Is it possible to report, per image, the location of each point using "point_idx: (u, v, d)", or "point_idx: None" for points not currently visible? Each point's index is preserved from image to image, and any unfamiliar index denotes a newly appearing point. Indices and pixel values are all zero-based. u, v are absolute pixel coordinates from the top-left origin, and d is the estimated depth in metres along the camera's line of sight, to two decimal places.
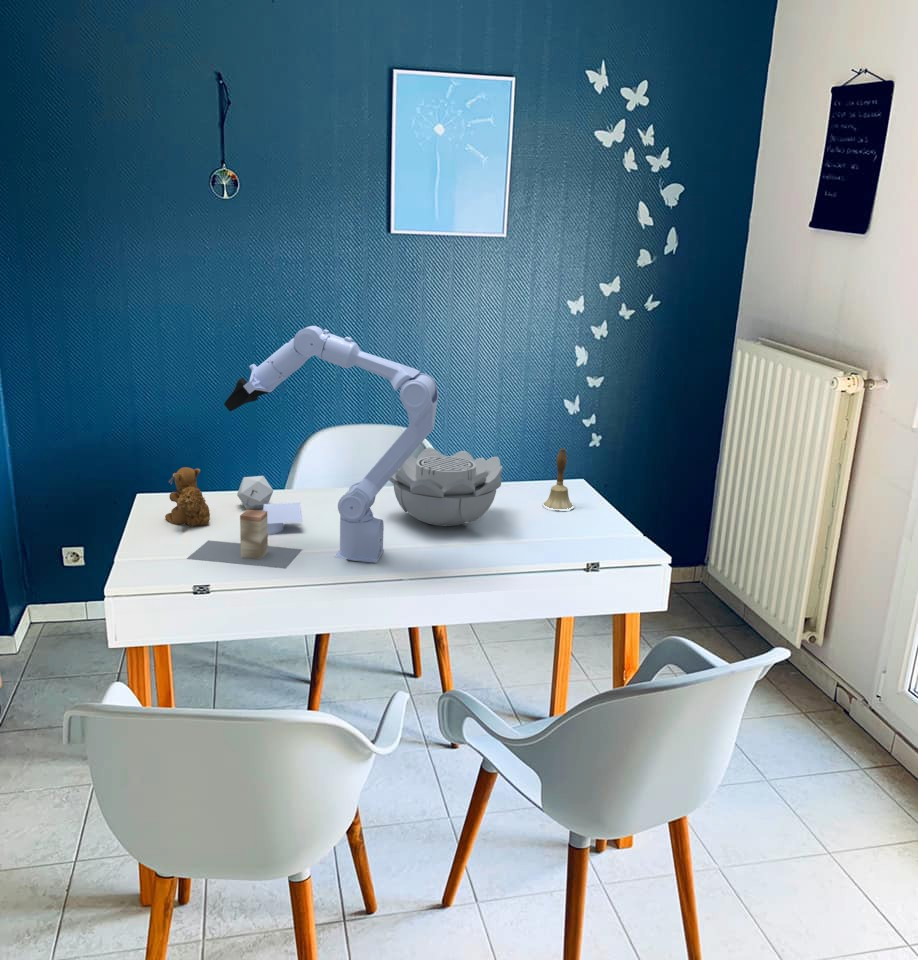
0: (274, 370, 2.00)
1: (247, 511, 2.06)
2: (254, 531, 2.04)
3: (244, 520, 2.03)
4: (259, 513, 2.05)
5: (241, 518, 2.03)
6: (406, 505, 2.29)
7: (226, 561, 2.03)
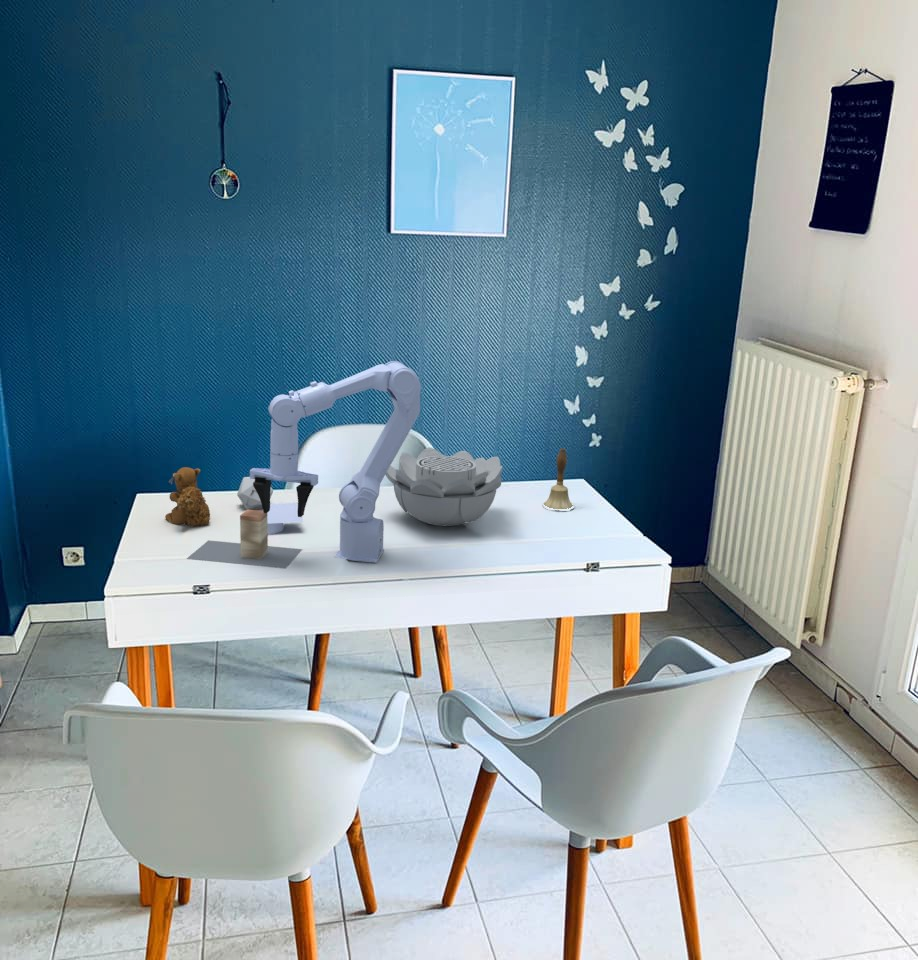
0: (297, 455, 2.00)
1: (247, 511, 2.06)
2: (254, 531, 2.04)
3: (244, 520, 2.03)
4: (259, 513, 2.05)
5: (241, 518, 2.03)
6: (406, 505, 2.29)
7: (226, 561, 2.03)
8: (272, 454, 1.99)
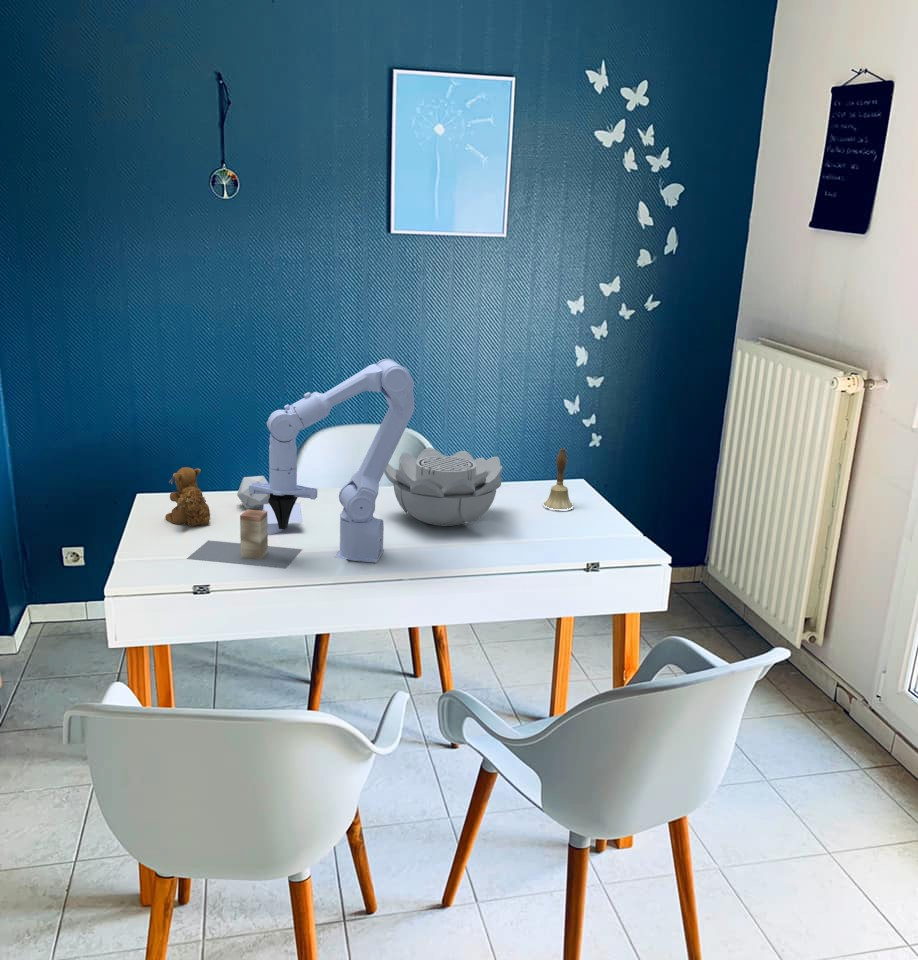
0: (296, 469, 2.01)
1: (247, 511, 2.06)
2: (254, 531, 2.04)
3: (244, 520, 2.03)
4: (259, 513, 2.05)
5: (241, 518, 2.03)
6: (406, 505, 2.29)
7: (226, 561, 2.03)
8: (271, 469, 1.99)
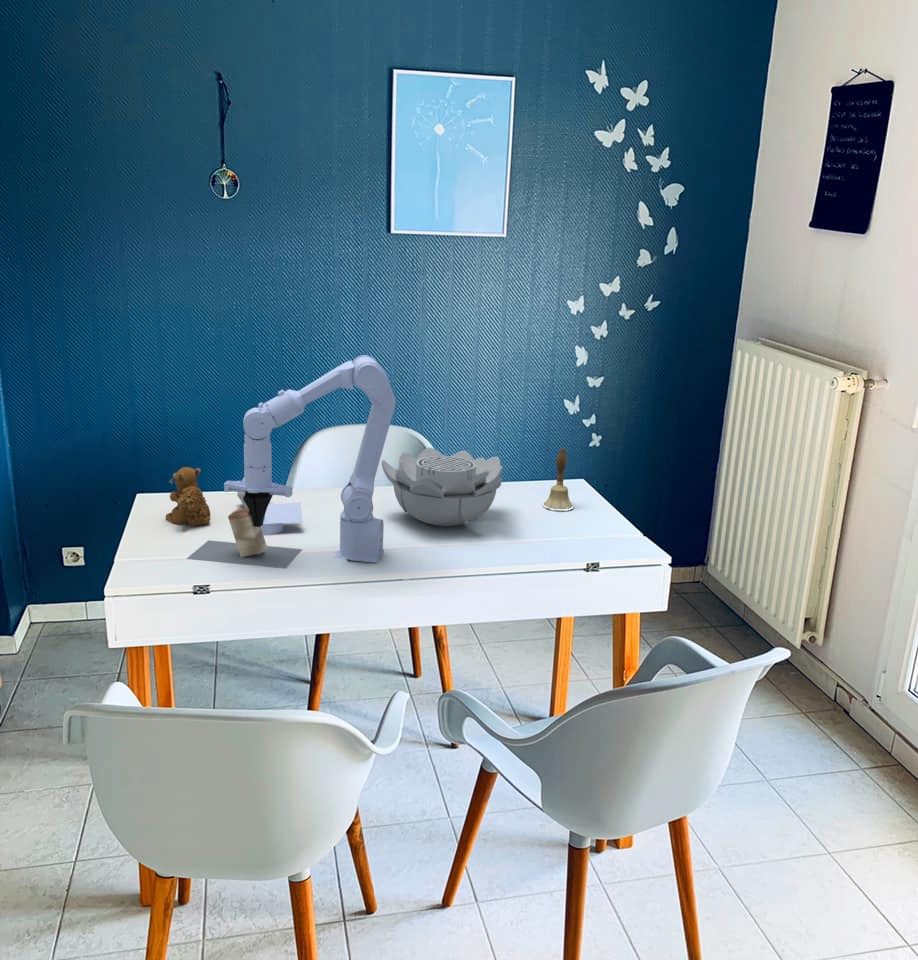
0: (271, 467, 2.02)
1: (235, 511, 2.07)
2: (245, 527, 2.04)
3: (233, 519, 2.04)
4: (246, 510, 2.05)
5: (229, 518, 2.04)
6: (406, 505, 2.29)
7: (226, 561, 2.03)
8: (246, 467, 2.00)
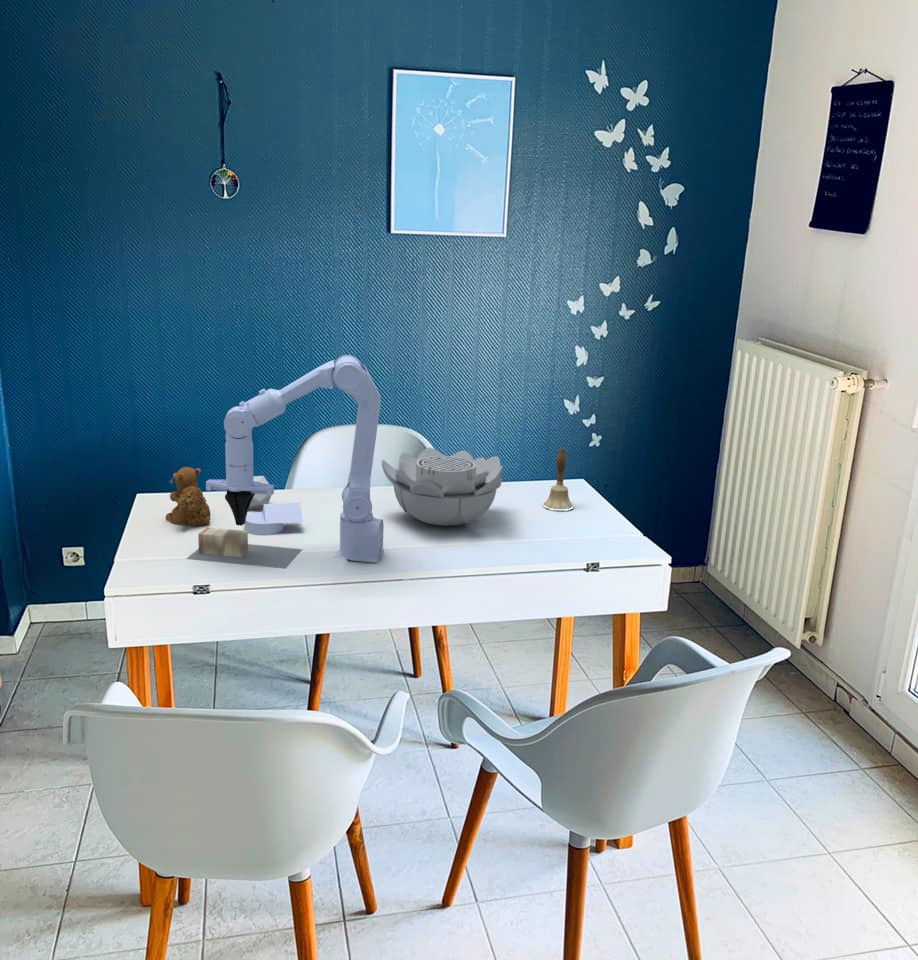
0: (252, 465, 2.02)
1: None
2: (212, 540, 2.06)
3: (202, 549, 2.07)
4: None
5: (201, 552, 2.07)
6: (406, 505, 2.29)
7: (226, 561, 2.03)
8: (227, 465, 2.01)
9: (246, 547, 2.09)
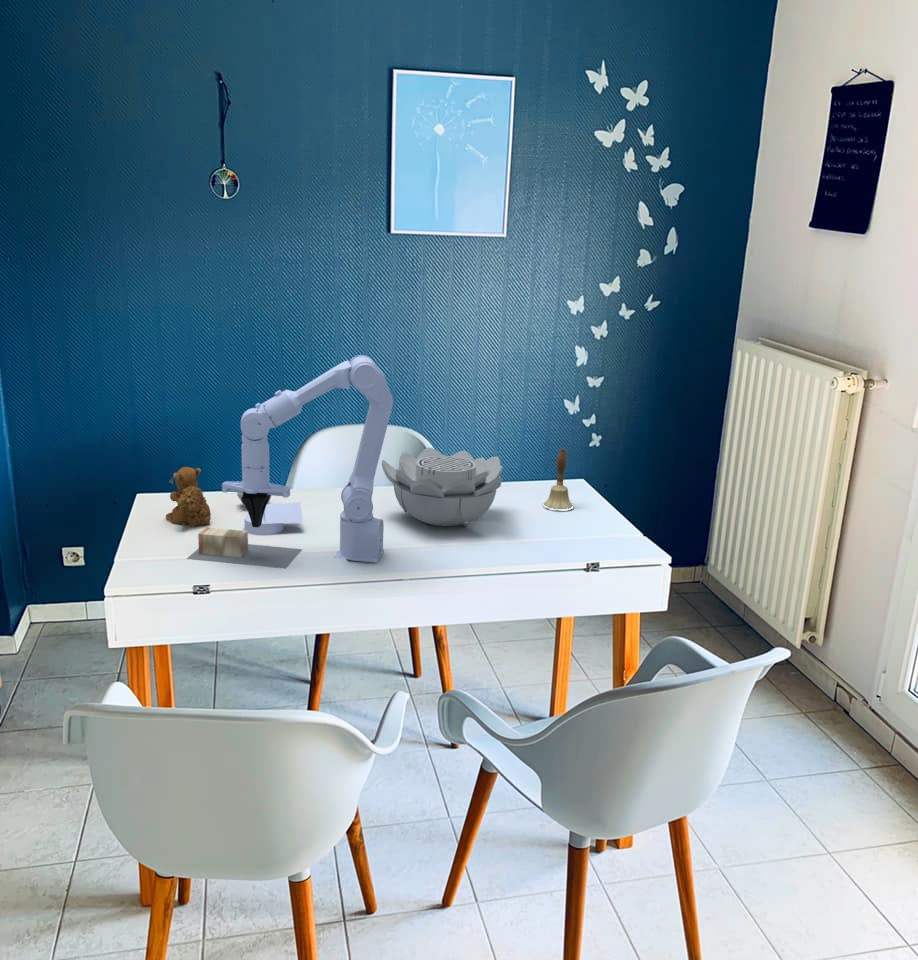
0: (268, 467, 2.02)
1: None
2: (212, 540, 2.06)
3: (202, 549, 2.07)
4: None
5: (201, 552, 2.07)
6: (406, 505, 2.29)
7: (226, 561, 2.03)
8: (243, 467, 2.00)
9: (246, 547, 2.09)
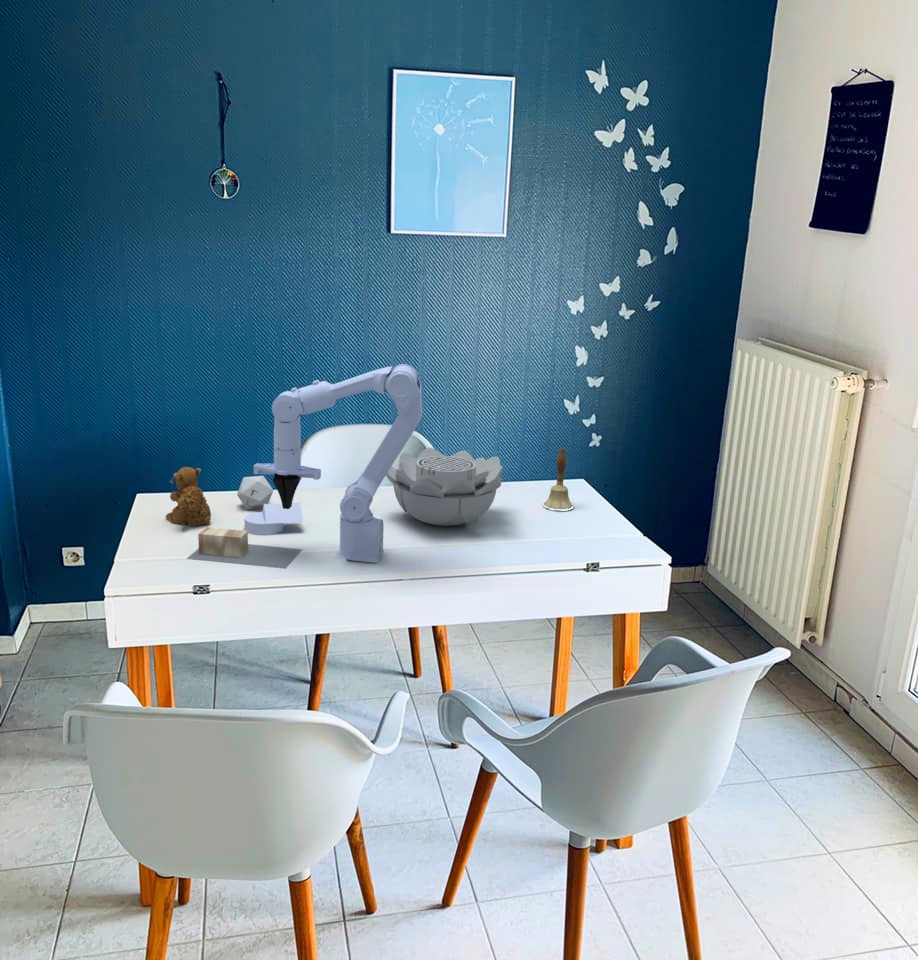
0: (300, 450, 2.05)
1: None
2: (212, 540, 2.06)
3: (202, 549, 2.07)
4: None
5: (201, 552, 2.07)
6: (406, 505, 2.29)
7: (226, 561, 2.03)
8: (276, 449, 2.03)
9: (246, 547, 2.09)
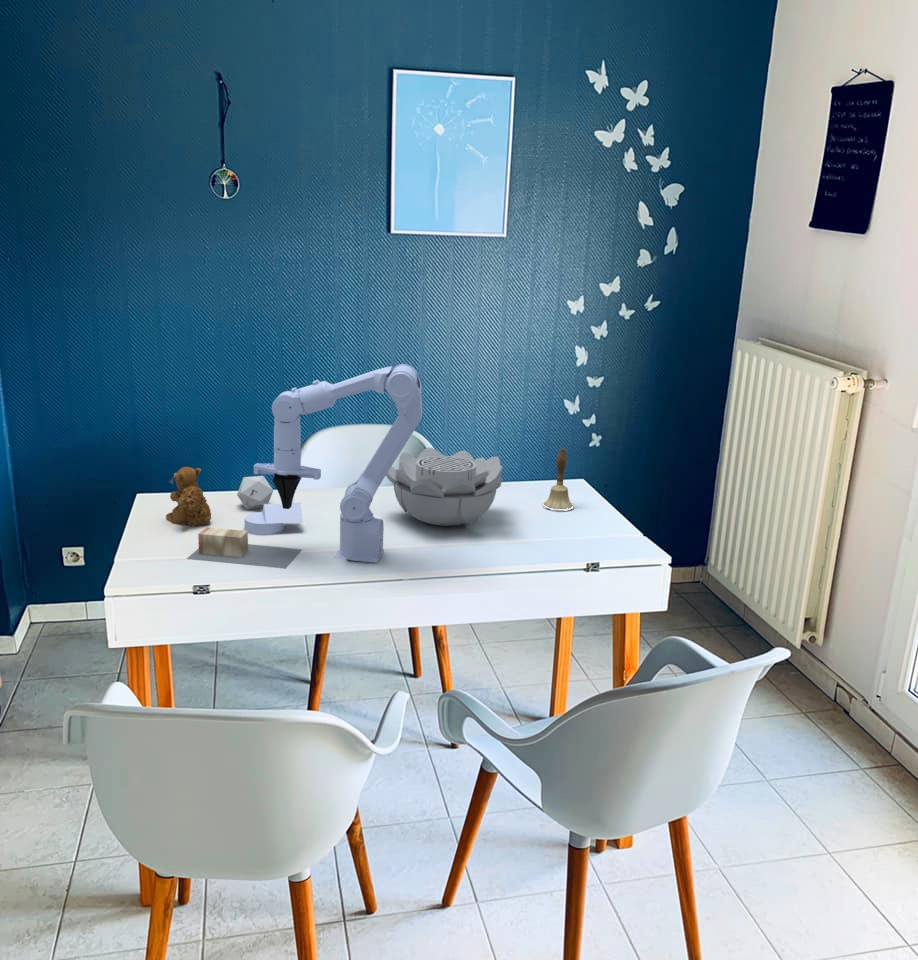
0: (300, 450, 2.05)
1: None
2: (212, 540, 2.06)
3: (202, 549, 2.07)
4: None
5: (201, 552, 2.07)
6: (406, 505, 2.29)
7: (226, 561, 2.03)
8: (276, 449, 2.03)
9: (246, 547, 2.09)
